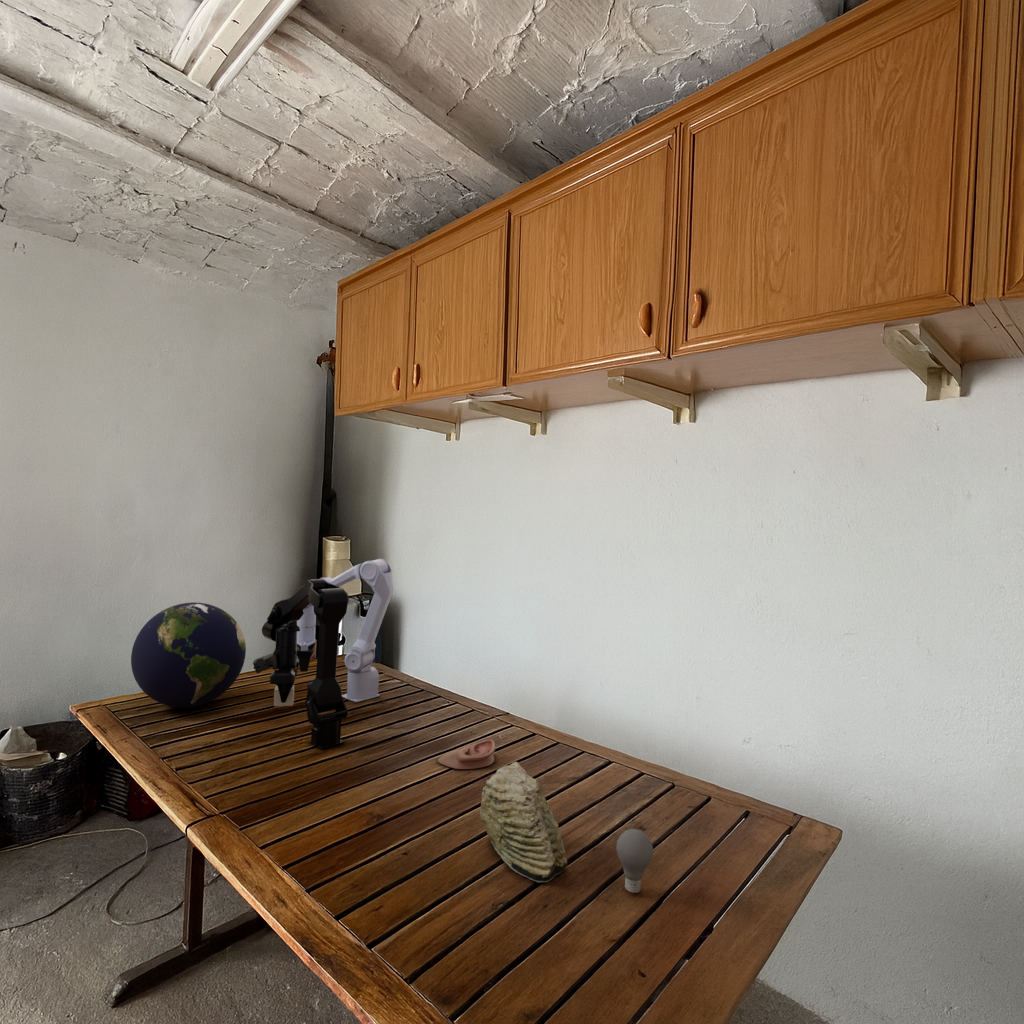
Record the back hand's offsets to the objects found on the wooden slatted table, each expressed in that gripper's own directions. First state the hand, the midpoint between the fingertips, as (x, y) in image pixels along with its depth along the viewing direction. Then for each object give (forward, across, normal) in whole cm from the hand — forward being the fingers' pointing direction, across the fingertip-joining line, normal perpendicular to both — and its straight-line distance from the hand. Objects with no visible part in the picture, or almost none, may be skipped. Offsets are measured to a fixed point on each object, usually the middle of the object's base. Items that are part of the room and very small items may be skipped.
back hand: (304, 668), depth 204 cm
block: (+4, +24, -4) cm, 24 cm away
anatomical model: (+8, +62, +42) cm, 75 cm away
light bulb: (+8, +118, +59) cm, 132 cm away
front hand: (+3, +24, -4) cm, 24 cm away
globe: (+8, +10, -32) cm, 34 cm away
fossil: (+8, +104, +43) cm, 113 cm away
